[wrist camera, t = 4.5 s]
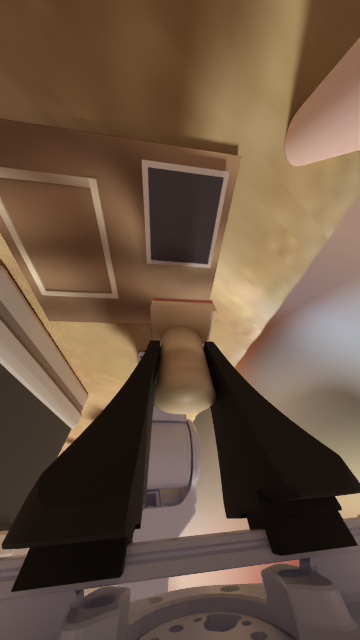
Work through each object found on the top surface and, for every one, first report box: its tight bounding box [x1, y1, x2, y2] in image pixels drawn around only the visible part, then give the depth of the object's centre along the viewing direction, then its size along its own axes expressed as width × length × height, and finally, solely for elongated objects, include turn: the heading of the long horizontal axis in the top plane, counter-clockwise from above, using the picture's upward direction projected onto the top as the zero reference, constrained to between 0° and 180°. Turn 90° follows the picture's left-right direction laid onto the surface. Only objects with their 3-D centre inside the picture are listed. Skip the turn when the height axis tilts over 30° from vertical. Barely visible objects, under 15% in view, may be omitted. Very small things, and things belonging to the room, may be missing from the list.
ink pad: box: [142, 160, 230, 268], centre depth 13 cm, size 8×7×1 cm
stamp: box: [150, 298, 217, 414], centre depth 10 cm, size 6×4×6 cm
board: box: [0, 119, 241, 324], centre depth 15 cm, size 18×22×1 cm
